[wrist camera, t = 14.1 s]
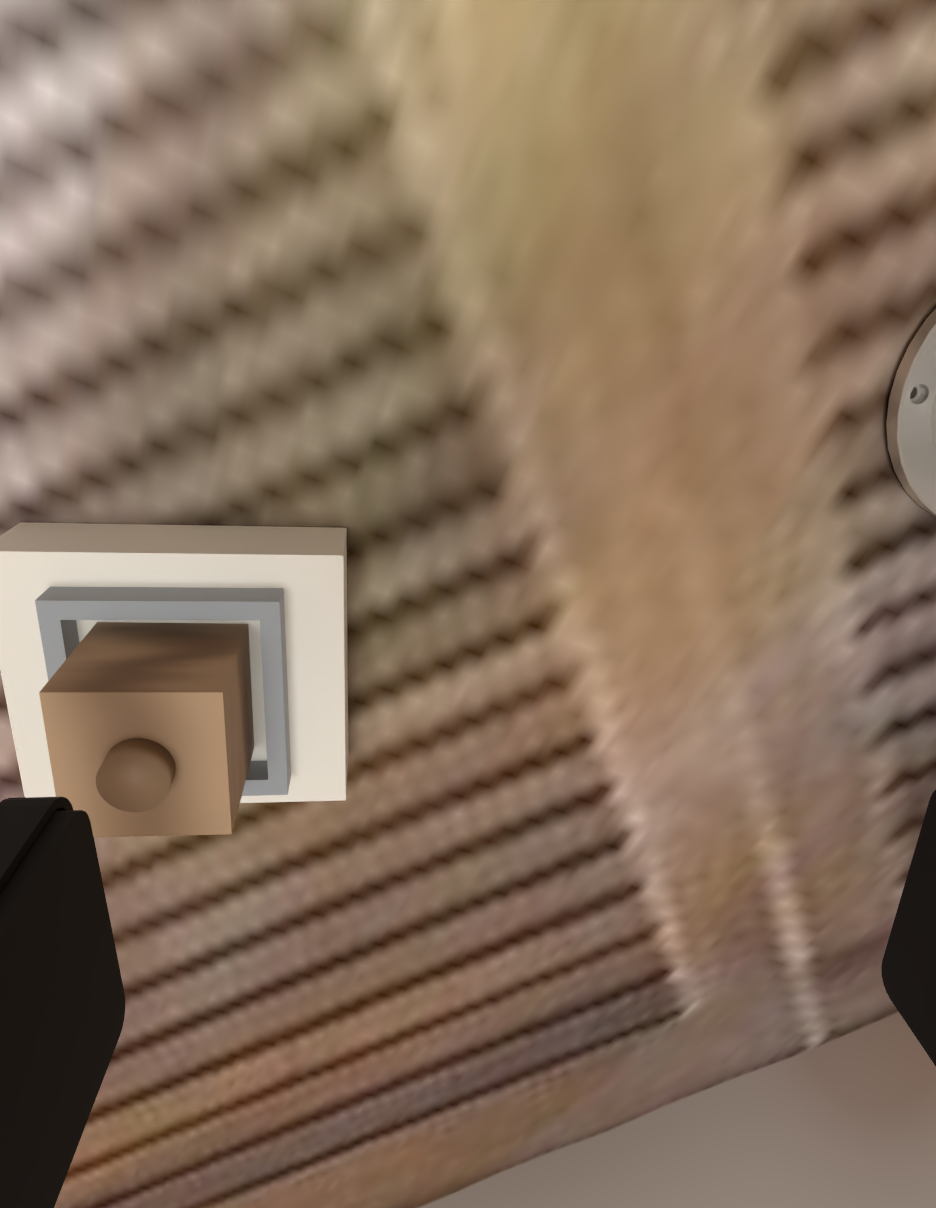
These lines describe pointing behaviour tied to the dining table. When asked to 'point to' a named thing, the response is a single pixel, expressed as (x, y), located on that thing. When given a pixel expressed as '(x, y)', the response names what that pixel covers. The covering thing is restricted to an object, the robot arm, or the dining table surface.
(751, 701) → the dining table surface
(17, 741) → the base plate
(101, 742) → the walnut block
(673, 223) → the dining table surface
